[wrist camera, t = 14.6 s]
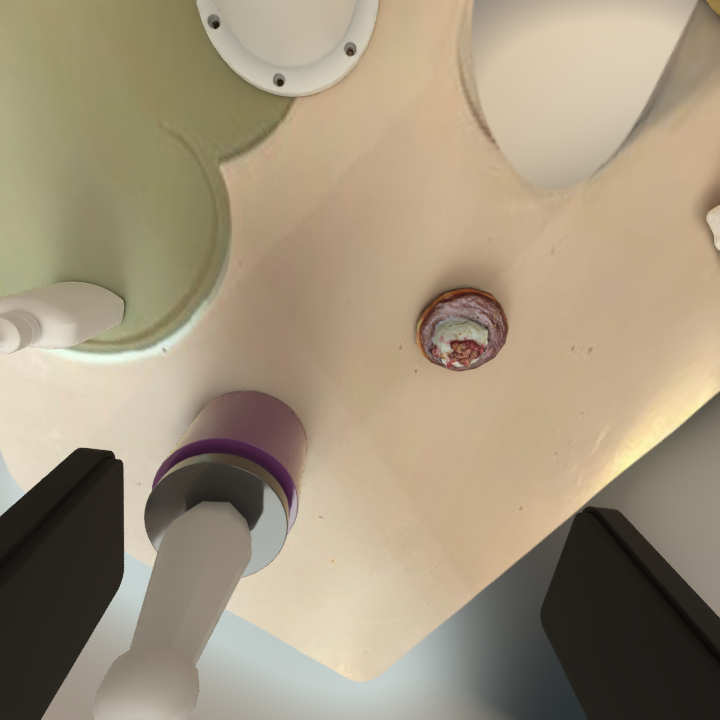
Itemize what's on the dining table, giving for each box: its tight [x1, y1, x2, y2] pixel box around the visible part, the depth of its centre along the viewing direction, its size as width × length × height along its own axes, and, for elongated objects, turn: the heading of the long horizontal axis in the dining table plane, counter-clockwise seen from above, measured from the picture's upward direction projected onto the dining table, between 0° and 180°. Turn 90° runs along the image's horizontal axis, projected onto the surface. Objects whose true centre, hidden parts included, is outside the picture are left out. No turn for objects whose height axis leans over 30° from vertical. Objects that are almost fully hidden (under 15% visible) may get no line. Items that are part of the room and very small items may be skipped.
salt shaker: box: [92, 501, 252, 720], centre depth 25 cm, size 6×6×13 cm
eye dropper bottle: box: [0, 282, 124, 354], centre depth 32 cm, size 4×6×12 cm
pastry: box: [416, 288, 509, 371], centre depth 37 cm, size 8×8×5 cm
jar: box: [144, 391, 307, 578], centre depth 37 cm, size 11×11×12 cm
